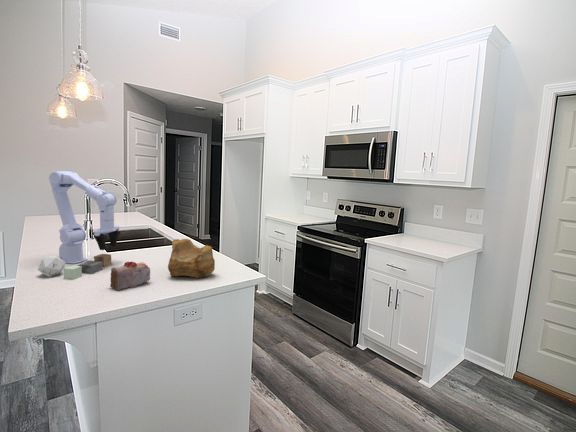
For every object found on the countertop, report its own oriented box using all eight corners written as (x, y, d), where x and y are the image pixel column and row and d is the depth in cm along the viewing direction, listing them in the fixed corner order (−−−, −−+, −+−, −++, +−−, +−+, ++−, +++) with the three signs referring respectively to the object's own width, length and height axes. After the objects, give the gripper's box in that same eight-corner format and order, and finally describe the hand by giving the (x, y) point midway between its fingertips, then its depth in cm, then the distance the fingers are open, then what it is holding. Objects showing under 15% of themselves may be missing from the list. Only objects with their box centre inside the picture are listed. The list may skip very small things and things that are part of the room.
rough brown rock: (153, 275, 145) (151, 244, 142) (181, 264, 160) (180, 235, 156) (191, 288, 135) (190, 254, 131) (218, 274, 149) (217, 243, 145)
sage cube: (64, 278, 135) (63, 268, 134) (72, 275, 139) (72, 265, 139) (73, 279, 134) (73, 269, 134) (81, 276, 139) (81, 266, 138)
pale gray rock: (33, 279, 134) (42, 263, 131) (37, 264, 140) (45, 248, 137) (57, 283, 139) (66, 267, 136) (60, 268, 146) (68, 252, 143)
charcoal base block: (78, 273, 143) (78, 264, 142) (89, 269, 149) (89, 260, 149) (92, 274, 142) (91, 265, 141) (102, 270, 148) (102, 261, 148)
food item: (141, 278, 139) (141, 256, 137) (152, 283, 134) (151, 260, 133) (108, 287, 128) (108, 263, 127) (118, 292, 123) (117, 267, 122)
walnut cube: (94, 266, 152) (94, 256, 152) (102, 263, 157) (101, 253, 157) (104, 267, 152) (103, 257, 151) (111, 264, 157) (111, 254, 156)
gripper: (104, 222, 144) (104, 252, 146) (124, 218, 158) (125, 245, 160) (89, 221, 145) (90, 251, 147) (111, 217, 159) (112, 244, 161)
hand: (107, 247), depth 153 cm, fingers open, 7 cm apart
